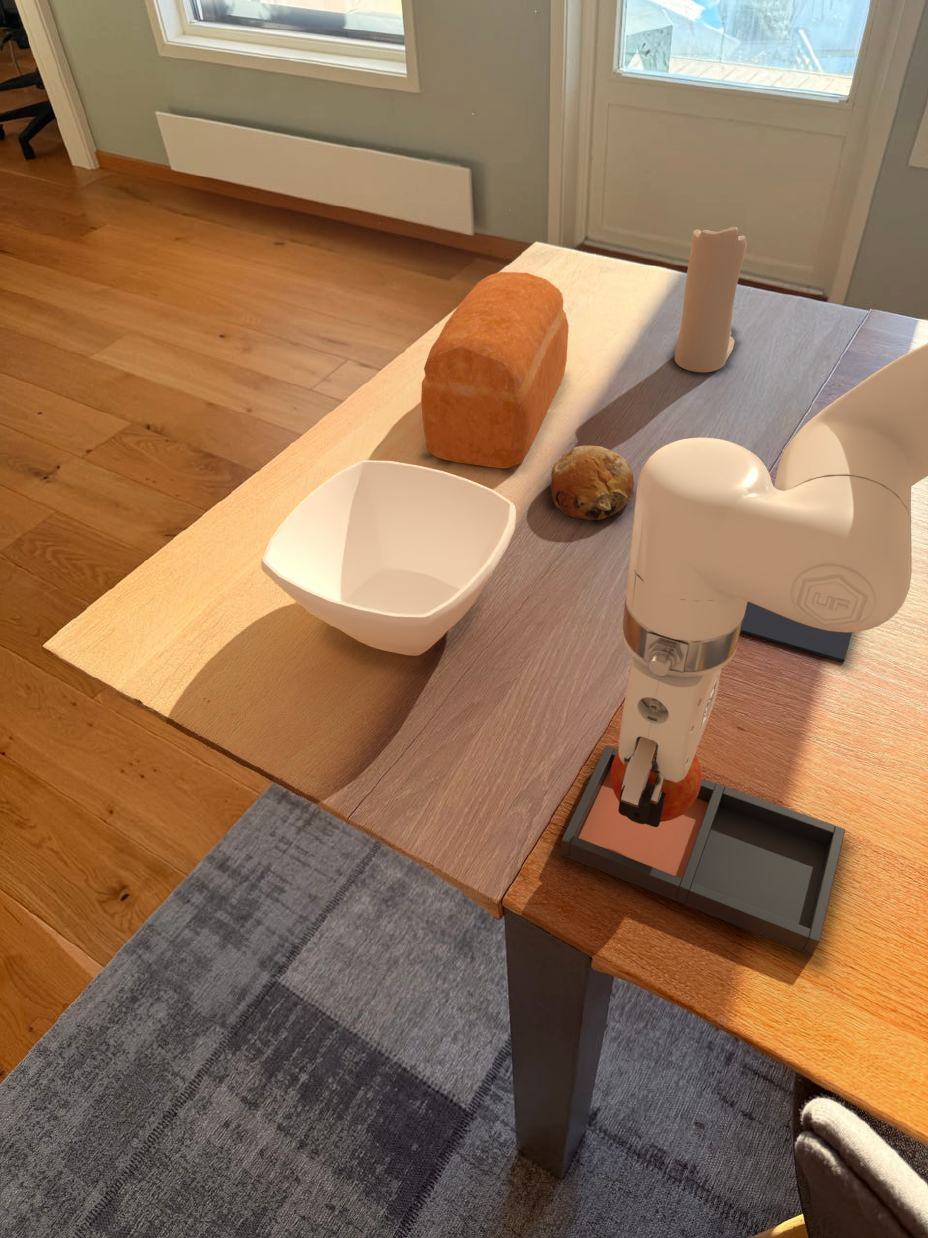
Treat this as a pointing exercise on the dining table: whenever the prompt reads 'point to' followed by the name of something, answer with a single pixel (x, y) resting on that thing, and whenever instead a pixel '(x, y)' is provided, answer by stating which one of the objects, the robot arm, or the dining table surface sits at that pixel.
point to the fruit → (665, 788)
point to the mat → (794, 633)
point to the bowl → (391, 552)
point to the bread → (495, 371)
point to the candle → (710, 299)
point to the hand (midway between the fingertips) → (655, 778)
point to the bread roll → (591, 483)
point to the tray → (716, 857)
